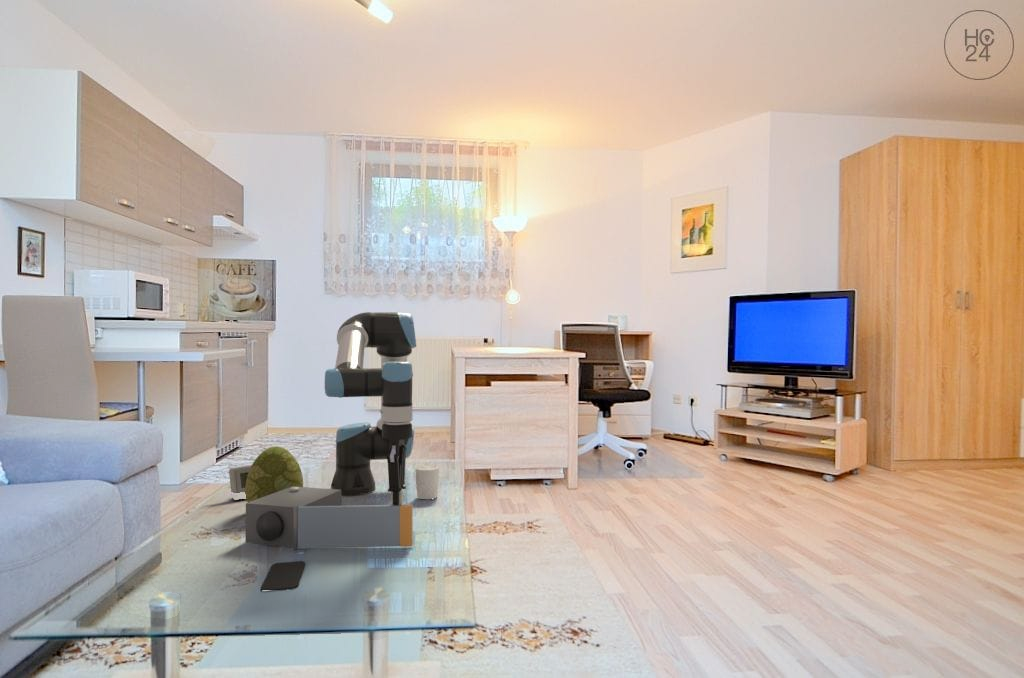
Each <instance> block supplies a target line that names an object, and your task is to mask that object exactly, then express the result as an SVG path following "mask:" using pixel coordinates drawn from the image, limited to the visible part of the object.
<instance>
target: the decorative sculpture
mask: <svg viewBox="0 0 1024 678" xmlns="http://www.w3.org/2000/svg"><path fill="white" fill-rule="evenodd" d="M251 465H252V466H251V468H250V470H249V473H248V476H247V479H246V486H245V494H246V500H245V501H246V503H248V502H251V501H253V500H256V499H259V498H262V497H264V496H267V495H270V494H273V493H276V492H278V491H281V490H284V489H287V488H289V487H292V486H295V487H304V477H303V474H302V470H301V467H300V464H299V463H298V461H297V459H296V458H295V457H294V455H293V454H292V453H291V452H290V451H289V450H288V449H286V448H284V447H282V446H277V445H275V446H274V445H273V446H270V447H268V448H266V449H264V450H263V451H261V452H260V454H259V455H258V456H257V457H256V458H255V459H254V461H253V463H251Z"/></svg>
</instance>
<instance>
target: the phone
mask: <svg viewBox="0 0 1024 678" xmlns="http://www.w3.org/2000/svg"><path fill="white" fill-rule="evenodd" d="M305 567H306V561H304V560H296V561H284V562H275V563H273V564H271V566H270V568H269V570H268V572H267V574H266V576H265V578H264V581H263V582H262V584H261V586H260V591H261V590H279V591H288V590H287V589H290V590H295V589H297V588H298V587H299V585H300V582H301V579H302V576H303V573H304V571H305Z"/></svg>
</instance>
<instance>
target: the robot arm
mask: <svg viewBox="0 0 1024 678" xmlns="http://www.w3.org/2000/svg"><path fill="white" fill-rule="evenodd" d="M413 317H414V316H412V314H411V313H409V312H400V311H397V312H391V311H390V312H383V311H382V312H381V311H380V312H379V311H378V312H377V311H376V312H372V311H369V312H368V311H367V312H361V313H357V314H355V315H353V316H351V317H349V318H348V319H346V320H345V321H344V322H343V323H342V324H341V326H339V329H338V331H337V333H336V342H337V345H338V347H337V348H338V349H337V355H336V361H335V366H334V368H328V369H326V371H325V372H324V394H325V396H327V397H328V398H360V397H363V398H364V397H371V398H372V397H380V410H379V413H380V419H378V420H377V422H376V426H372V425H371V423H370V422H369V421H368V422H357V423H355V422H354V423H351V424H345V425H342V426H340V427H338V428H337V430H336V436H335V437H336V438H335V441H334V442H335V471H334V475H333V477H332V481H331V483H330V489H337V490H341V496H346V497H347V496H361V495H365V494H370V493H373V492H374V491H376V482H375V481H376V480H375V478H374V476H373V472H372V470H371V461H375V460H377V461H378V460H386V461H387V470H388V471H387V473H388V474H387V475H388V488H387V492H390V505H404V490H406V489H407V486H406V485H405V483H406V481H405V479H406V478H405V477H406V459H407V458H409V457H410V456H411V455H412V451H413V448H414V447H413V446H414V442H415V441H414V437H415V427H414V426H413V423H411V422H412V421H413V420H414V419H413V417H414V416H413V376H414V372H413V364H412V363H411V362H410V361H408V357H409V356H410V355H411V354H412V352H413V351H412V349H414V348H416V347H417V339H416V331H415V322H414V318H413ZM365 348H372V349H373V348H374V349H376V353H377V354H378V356H379V357H380V358H381V359H380V362H381V363H380V365H381V366H380V368H376V367H375V368H374V367H373V368H364V360H365ZM372 491H373V492H372Z"/></svg>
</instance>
